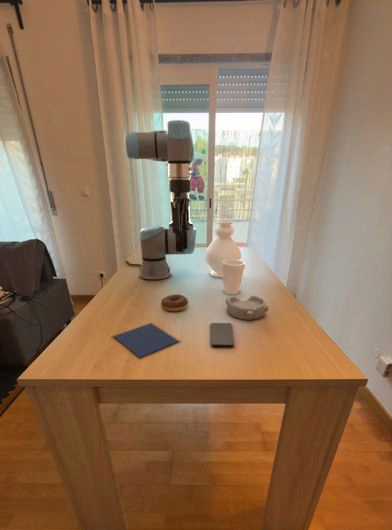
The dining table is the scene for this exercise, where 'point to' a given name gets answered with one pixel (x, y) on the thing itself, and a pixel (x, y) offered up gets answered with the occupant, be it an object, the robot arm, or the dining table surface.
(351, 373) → the dining table surface
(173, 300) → the donut
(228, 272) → the foam cup
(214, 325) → the smartphone
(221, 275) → the decorative vase
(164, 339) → the cloth
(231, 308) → the dish
